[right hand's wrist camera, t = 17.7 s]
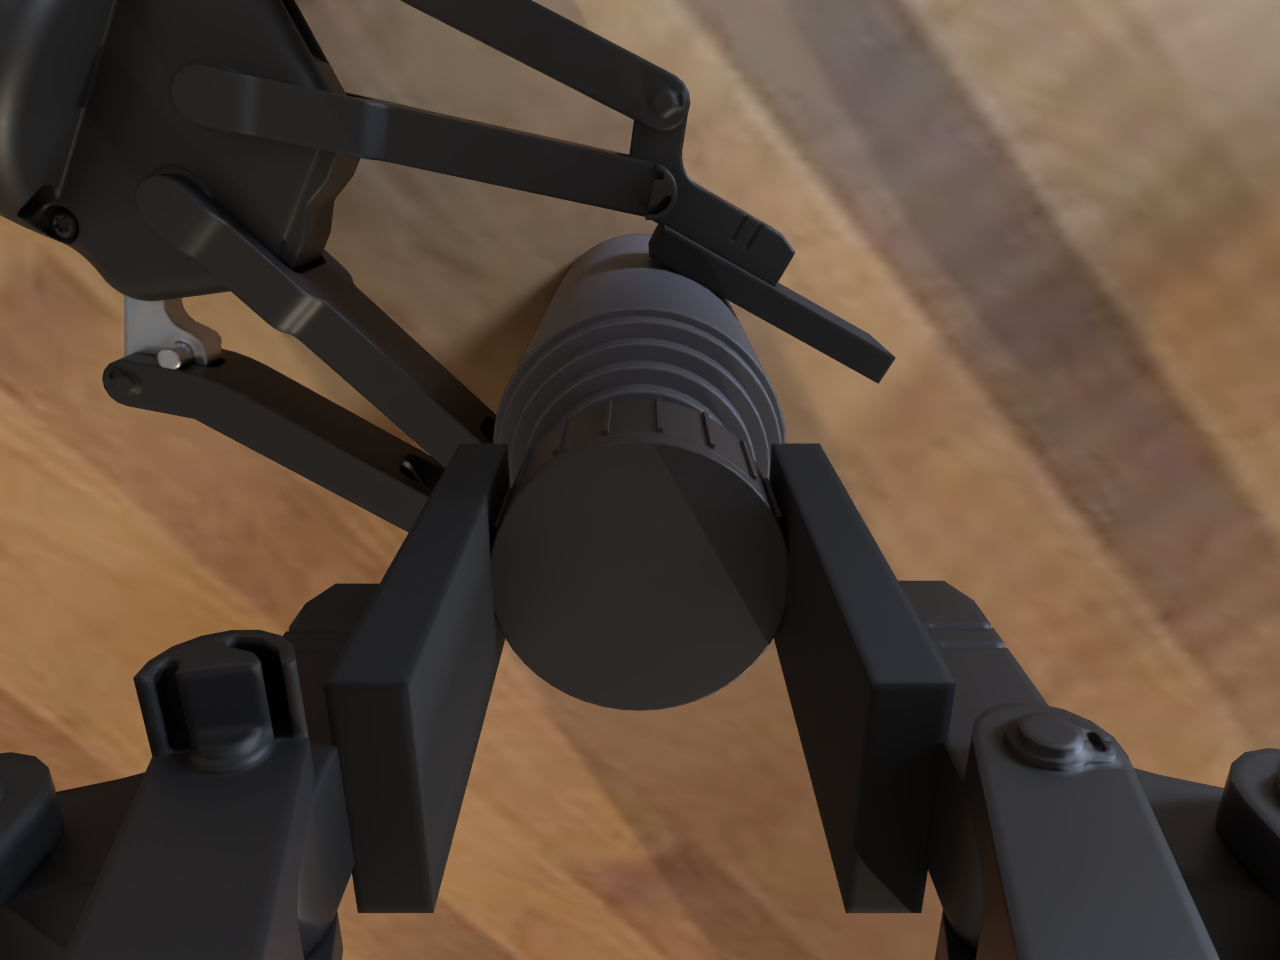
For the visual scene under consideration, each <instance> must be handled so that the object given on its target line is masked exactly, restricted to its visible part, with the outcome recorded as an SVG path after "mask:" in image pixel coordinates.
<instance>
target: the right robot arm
mask: <svg viewBox="0 0 1280 960" xmlns="http://www.w3.org/2000/svg"><path fill="white" fill-rule="evenodd" d="M769 482H770V485H771V487H772V490H773V493H774V496H775V498H776V501H777V504H778V507H779V509H780V512H781V515H782V517H783V521H780V525H781V528H782V530H783V534H784V537H785V540H786V543H787V547H788V551H789V562H788V578H787V593H786V607H785V614H784V617H783V620H782V622H781V624H780V626H779V628H778V631H777V633H776V635H775V636H774V641H775V644H776V648H777V652H778V656H779V660H780V663H781V667H782V671H783V675H784V679H785V682H786V686H787V690H788V694H789V698H790V702H791V705H792V709H793V713H794V717H795V721H796V724H797V728H798V732H799V736H800V740H801V743H802V747H803V751H804V755H805V759H806V762H807V766H808V770H809V774H810V778H811V782H812V785H813V789H814V793H815V797H816V801H817V804H818V808H819V812H820V816H821V820H822V823H823V827H824V831H825V835H826V839H827V842H828V846H829V850H830V854H831V858H832V862H833V865H834V869H835V873H836V877H837V881H838V884H839V888H840V892H841V896H842V900H843V903H844V907H845V911H846V913H921V911H922V904H923V898H924V891H925V885H926V878H927V872H928V871H929V873H930V876H931V878H932V881H933V883H934V886H935V889H936V891H937V894H938V896H939V899H940V901H941V904H942V907H943V913H942V919H941V925H940V931H939V937H938V944H937V950H936V956H935V960H1280V749H1272V748H1267V749H1261V750H1256V751H1250V752H1245V753H1243V754H1242V755H1241V756H1240V757H1239V758H1237V759H1236V760H1235V761H1234V762H1233V763H1232V764H1231V767H1230V771H1229V774H1228V777H1227V781H1226V784H1225V787H1224V788H1220V787H1216V786H1211V785H1206V784H1201V783H1196V782H1191V781H1186V780H1181V779H1177V778H1172V777H1167V776H1162V775H1157V774H1154V773H1150V772H1146V771H1142V770H1139V769H1135V768H1133V766H1132V764H1131V762H1130V760H1129V757H1128V755H1127V754H1126V753H1125V751H1124V750H1123V749H1122V747H1121V746H1120V745H1119V743H1118V742H1117V741H1116V739H1115V738H1114V737H1113V736H1111V735H1110V734H1109V733H1107V732H1106V731H1104V730H1103V729H1101V728H1100V727H1099V726H1097V725H1096V724H1094V723H1093V722H1092V721H1090V720H1087V719H1085V718H1083V717H1080V716H1078V715H1076V714H1073V713H1071V712H1069V711H1066V710H1064V709H1060V708H1055V707H1050V706H1048V704H1047V703H1046V702H1045V700H1044V699H1043V697H1042V696H1041V695H1040V693H1039V692H1038V690H1037V689H1036V687H1035V686H1034V685H1033V683H1032V682H1031V680H1030V679H1029V678H1028V676H1027V675H1026V673H1025V672H1024V671H1023V669H1022V668H1021V666H1020V665H1019V663H1018V662H1017V661H1016V659H1015V658H1014V656H1013V655H1012V654H1011V652H1010V651H1009V649H1008V648H1004V642H1003V641H1002V639H1001V638H1000V637H999V635H998V634H997V632H996V631H995V630H994V628H991V627H990V623H989V621H988V620H987V618H986V617H985V615H984V614H983V613H982V611H981V610H980V608H979V607H978V606H977V604H976V603H975V601H974V600H972V599H971V598H969V597H968V596H966V595H965V594H963V593H962V592H960V591H959V590H957V589H955V588H954V587H952V586H951V585H949V584H948V583H946V582H945V581H898V580H897V579H896V577H895V575H894V573H893V572H892V570H891V568H890V566H889V565H888V563H887V561H886V559H885V558H884V556H883V554H882V552H881V551H880V549H879V547H878V545H877V544H876V542H875V540H874V538H873V537H872V535H871V533H870V531H869V530H868V528H867V526H866V524H865V523H864V521H863V519H862V517H861V516H860V514H859V512H858V510H857V509H856V507H855V505H854V503H853V502H852V500H851V498H850V496H849V495H848V493H847V491H846V489H845V488H844V486H843V484H842V482H841V481H840V479H839V477H838V475H837V474H836V472H835V470H834V468H833V467H832V465H831V463H830V461H829V460H828V458H827V456H826V454H825V453H824V451H823V449H822V447H821V445H820V444H771V461H770V479H769ZM508 488H510V475H509V457H508V444H459V446H458V448H457V449H456V451H455V453H454V455H453V456H452V458H451V460H450V462H449V463H448V465H447V467H446V469H445V470H444V472H443V474H442V476H441V477H440V479H439V481H438V483H437V484H436V486H435V488H434V490H433V491H432V493H431V495H430V497H429V498H428V500H427V502H426V504H425V505H424V507H423V509H422V511H421V512H420V514H419V516H418V518H417V519H416V521H415V523H414V525H413V526H412V528H411V530H410V532H409V533H408V535H407V537H406V539H405V540H404V542H403V544H402V546H401V547H400V549H399V551H398V553H397V554H396V556H395V558H394V560H393V561H392V563H391V565H390V567H389V568H388V570H387V572H386V574H385V575H384V577H383V579H382V581H381V582H380V584H335V585H333V586H332V587H330V588H329V589H327V590H326V591H324V592H323V593H321V594H319V595H318V596H316V597H315V598H313V599H312V600H310V601H309V602H307V603H306V604H305V605H304V607H303V608H302V610H301V611H300V612H299V614H298V615H297V617H296V618H295V619H294V621H293V622H292V624H291V625H290V627H289V631H286V632H285V634H284V635H283V637H282V636H281V635H277V634H273V633H269V632H265V631H261V630H230V631H225V632H219V633H214V634H209V635H204V636H200V637H197V638H194V639H192V640H189V641H186V642H183V643H181V644H178V645H175V646H173V647H171V648H169V649H168V650H166V651H164V652H163V653H161V654H159V655H158V656H156V657H154V658H153V659H151V660H150V661H148V662H147V663H146V664H145V665H144V667H143V668H142V669H141V670H140V671H139V672H138V673H137V674H136V675H135V677H134V683H135V687H136V691H137V695H138V699H139V703H140V707H141V711H142V715H143V720H144V724H145V728H146V732H147V736H148V740H149V744H150V748H151V752H152V756H153V757H152V759H151V761H150V763H149V766H148V768H147V770H146V772H144V773H141V774H137V775H133V776H129V777H126V778H122V779H117V780H112V781H108V782H103V783H98V784H93V785H88V786H83V787H79V788H74V789H69V790H64V791H59V792H56V791H55V788H54V784H53V781H52V777H51V774H50V771H49V768H48V767H47V766H46V765H45V764H44V763H43V762H41V761H40V760H39V759H38V758H37V757H35V756H30V755H24V754H18V753H12V752H10V753H0V960H342V954H343V946H342V939H341V932H340V925H339V919H338V913H337V909H338V907H339V904H340V901H341V899H342V896H343V894H344V891H345V888H346V886H347V883H348V881H349V878H350V876H351V873H352V877H353V883H354V890H355V897H356V903H357V910H358V913H433V912H434V908H435V904H436V900H437V897H438V893H439V889H440V885H441V881H442V878H443V874H444V870H445V866H446V862H447V858H448V855H449V851H450V847H451V843H452V839H453V836H454V832H455V828H456V824H457V820H458V817H459V813H460V809H461V805H462V801H463V798H464V794H465V790H466V786H467V782H468V779H469V775H470V771H471V767H472V763H473V760H474V756H475V752H476V748H477V744H478V740H479V737H480V733H481V729H482V725H483V721H484V718H485V714H486V710H487V706H488V702H489V699H490V695H491V691H492V687H493V683H494V680H495V676H496V672H497V668H498V664H499V661H500V657H501V653H502V649H503V645H504V641H505V636H504V635H503V633H502V631H501V629H500V626H499V624H498V622H497V620H496V617H495V614H494V604H493V590H492V575H491V559H490V551H491V546H492V543H493V540H494V537H495V533H496V532H494V525H495V522H496V519H497V517H498V514H499V511H500V508H501V506H502V503H503V500H504V497H505V495H506V492H507V489H508Z"/></svg>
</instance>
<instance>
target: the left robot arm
mask: <svg viewBox="0 0 1280 960" xmlns="http://www.w3.org/2000/svg"><path fill="white" fill-rule="evenodd" d="M401 1H403V2H404V3H406V4H408V5H410V6H412V7H414V8H416V9H418V10H420V11H422V12H424V13H426V14H428V15H430V16H431V17H433V18H435V19H437V20H439V21H441V22H443V23H445V24H447V25H449V26H451V27H453V28H455V29H457V30H459V31H461V32H463V33H465V34H467V35H469V36H471V37H473V38H475V39H477V40H479V41H481V42H482V43H484V44H486V45H488V46H490V47H492V48H494V49H496V50H498V51H500V52H502V53H504V54H506V55H508V56H510V57H512V58H514V59H516V60H518V61H520V62H522V63H524V64H526V65H528V66H530V67H531V68H533V69H535V70H537V71H539V72H541V73H543V74H545V75H547V76H549V77H551V78H553V79H555V80H557V81H559V82H561V83H563V84H565V85H567V86H569V87H571V88H573V89H575V90H577V91H579V92H581V93H582V94H584V95H586V96H588V97H590V98H592V99H594V100H596V101H598V102H600V103H602V104H604V105H606V106H608V107H610V108H612V109H614V110H616V111H618V112H620V113H622V114H624V115H626V116H628V117H630V118H631V119H633V120H634V125H633V132H632V140H631V147H630V154H629V155H628V154H624V153H619V152H614V151H610V150H605V149H601V148H596V147H591V146H587V145H582V144H578V143H573V142H569V141H564V140H559V139H555V138H550V137H546V136H541V135H536V134H532V133H527V132H523V131H518V130H514V129H509V128H504V127H500V126H495V125H491V124H486V123H481V122H477V121H472V120H468V119H463V118H458V117H454V116H449V115H445V114H440V113H436V112H431V111H426V110H422V109H417V108H413V107H409V106H405V105H401V104H397V103H392V102H388V101H383V100H378V99H374V98H369V97H365V96H360V95H356V94H351V93H346V92H345V91H344V89H343V87H342V86H341V84H340V82H339V80H338V78H337V77H336V75H335V73H334V71H333V69H332V67H331V66H330V64H329V62H328V60H327V58H326V57H325V55H324V53H323V51H322V49H321V48H320V46H319V44H318V42H317V40H316V38H315V37H314V35H313V33H312V31H311V29H310V28H309V26H308V24H307V22H306V20H305V18H304V17H303V15H302V13H301V11H300V9H299V8H298V6H297V4H296V2H295V0H0V215H1V216H3V217H5V218H7V219H9V220H11V221H13V222H15V223H17V224H19V225H21V226H23V227H26V228H28V229H30V230H32V231H35V232H37V233H40V234H42V235H44V236H47V237H49V238H52V239H54V240H57V241H59V242H62V243H64V244H66V245H68V246H70V247H71V248H73V249H75V250H76V251H77V252H79V253H80V254H81V255H82V256H84V257H85V258H86V259H87V260H88V261H89V262H90V263H91V264H92V265H93V266H94V267H95V268H96V270H97V271H98V272H99V273H100V274H101V276H102V277H103V278H104V279H105V281H106V282H107V283H108V284H110V285H111V286H112V287H113V288H114V289H116V290H117V291H119V292H120V293H122V294H124V341H125V354H124V357H123V358H121V359H119V360H117V361H114V362H112V363H110V364H109V365H108V366H107V367H106V368H105V370H104V373H103V378H102V379H103V384H104V388H105V390H106V391H107V393H108V394H109V396H110V397H112V398H113V399H114V400H115V401H116V402H118V403H121V404H123V405H126V406H130V407H135V408H141V409H146V410H151V411H156V412H162V413H167V414H172V415H177V416H183V417H188V418H193V419H196V420H198V421H199V422H201V423H203V424H205V425H207V426H209V427H211V428H213V429H215V430H216V431H218V432H220V433H222V434H224V435H226V436H228V437H230V438H231V439H233V440H235V441H237V442H239V443H241V444H243V445H245V446H247V447H248V448H250V449H252V450H254V451H256V452H258V453H260V454H262V455H264V456H265V457H267V458H269V459H271V460H273V461H275V462H277V463H279V464H281V465H282V466H284V467H286V468H288V469H290V470H292V471H294V472H296V473H297V474H299V475H301V476H303V477H305V478H307V479H309V480H311V481H313V482H314V483H316V484H318V485H320V486H322V487H324V488H326V489H328V490H330V491H331V492H333V493H335V494H337V495H339V496H341V497H343V498H345V499H347V500H348V501H350V502H352V503H354V504H356V505H358V506H360V507H362V508H363V509H365V510H367V511H369V512H371V513H373V514H375V515H377V516H379V517H380V518H382V519H384V520H386V521H388V522H390V523H392V524H394V525H396V526H397V527H399V528H401V529H403V530H405V531H407V532H410V530H411V528H412V526H413V525H414V523H415V521H416V519H417V518H418V516H419V514H420V512H421V511H422V509H423V507H424V505H425V504H426V502H427V500H428V498H429V497H430V495H431V493H432V491H433V490H434V488H435V486H436V484H437V483H438V481H439V479H440V477H441V476H442V474H443V472H444V470H445V469H446V467H447V465H448V463H449V462H450V460H451V458H452V456H453V455H454V453H455V451H456V449H457V448H458V446H459V444H493V437H494V426H495V421H496V416H497V415H496V414H495V413H493V412H492V411H491V410H490V409H489V408H488V407H487V406H486V405H485V404H484V403H483V402H481V401H480V400H479V399H478V398H477V397H476V396H475V395H474V394H473V393H472V392H471V391H469V390H468V389H467V388H466V387H465V386H464V385H463V384H462V383H461V382H460V381H459V380H457V379H456V378H455V377H454V376H453V375H452V374H451V373H450V372H449V371H448V370H447V369H445V368H444V367H443V366H442V365H441V364H440V363H439V362H438V361H437V360H436V359H435V358H433V357H432V356H431V355H430V354H429V353H428V352H427V351H426V350H425V349H424V348H423V347H421V346H420V345H419V344H418V343H417V342H416V341H415V340H414V339H413V338H412V337H410V336H409V335H408V334H407V333H406V332H405V331H404V330H403V329H402V328H401V327H400V326H398V325H397V324H396V323H395V322H394V321H393V320H392V319H391V318H390V317H389V316H388V315H386V314H385V313H384V312H383V311H382V310H381V309H380V308H379V307H378V306H377V305H376V304H374V303H373V302H372V301H371V300H370V299H369V298H368V297H367V296H366V295H365V294H364V293H362V292H361V291H360V290H359V289H358V288H357V287H356V286H355V284H354V283H353V280H352V277H351V275H350V274H349V273H348V271H347V270H346V269H345V268H344V267H343V266H342V265H341V264H340V263H339V262H337V261H336V260H335V259H334V258H333V257H332V256H331V255H330V254H329V253H328V252H327V251H325V250H324V247H325V245H326V242H327V240H328V237H329V235H330V232H331V224H332V215H333V206H334V200H335V199H336V197H337V196H338V195H339V193H340V192H341V191H342V190H343V188H344V187H345V186H346V184H347V183H348V182H349V181H350V179H351V178H352V177H353V175H354V173H355V170H356V168H357V165H358V163H359V160H360V158H365V159H372V160H380V161H386V162H391V163H395V164H400V165H405V166H409V167H414V168H419V169H423V170H428V171H433V172H438V173H442V174H447V175H452V176H456V177H461V178H466V179H470V180H475V181H480V182H484V183H489V184H494V185H499V186H503V187H508V188H513V189H517V190H522V191H527V192H531V193H536V194H541V195H545V196H550V197H555V198H560V199H564V200H569V201H574V202H578V203H583V204H588V205H592V206H597V207H602V208H606V209H611V210H616V211H621V212H625V213H630V214H635V215H639V216H644V217H645V219H646V220H653V221H655V222H657V223H658V225H657V227H656V229H655V231H654V233H653V235H652V237H651V238H650V240H649V242H648V247H649V256H650V257H651V258H653V259H655V260H657V261H659V262H660V263H662V264H664V265H666V266H668V267H669V268H671V269H673V270H675V271H677V272H678V273H680V274H682V275H684V276H686V277H687V278H689V279H691V280H693V281H695V282H697V283H698V284H700V285H702V286H704V287H705V288H707V289H709V290H711V291H713V292H714V293H716V294H718V295H720V296H722V297H723V298H725V299H727V300H729V301H731V302H732V303H734V304H736V305H738V306H740V307H741V308H743V309H745V310H747V311H749V312H750V313H752V314H754V315H756V316H758V317H759V318H761V319H763V320H765V321H767V322H768V323H770V324H772V325H774V326H776V327H777V328H779V329H781V330H783V331H785V332H786V333H788V334H790V335H792V336H794V337H795V338H797V339H799V340H801V341H803V342H804V343H806V344H808V345H810V346H812V347H813V348H815V349H817V350H819V351H821V352H822V353H824V354H826V355H828V356H830V357H831V358H833V359H835V360H837V361H838V362H840V363H842V364H844V365H846V366H847V367H849V368H851V369H853V370H855V371H856V372H858V373H860V374H862V375H864V376H865V377H867V378H869V379H871V380H873V381H874V382H876V383H878V384H879V382H880V381H881V379H882V378H883V376H884V375H885V373H886V372H887V370H888V369H889V367H890V366H891V364H892V363H893V361H894V359H895V357H894V356H893V355H892V354H891V353H890V352H889V351H888V350H886V349H885V348H884V347H883V346H882V345H881V344H880V343H879V342H877V341H876V340H875V339H874V338H873V337H872V336H871V335H870V334H868V333H866V332H864V331H863V330H861V329H859V328H857V327H856V326H854V325H852V324H850V323H848V322H847V321H845V320H843V319H841V318H840V317H838V316H836V315H834V314H833V313H831V312H829V311H827V310H826V309H824V308H822V307H820V306H818V305H817V304H815V303H813V302H811V301H810V300H808V299H806V298H804V297H803V296H801V295H799V294H797V293H796V292H794V291H792V290H790V289H788V288H787V287H785V286H783V285H781V284H780V283H778V281H779V279H780V278H781V276H782V274H783V273H784V271H785V269H786V267H787V266H788V264H789V262H790V261H791V259H792V257H793V256H794V254H795V251H794V249H793V248H792V247H791V245H790V244H789V243H788V241H787V240H786V239H785V237H784V236H783V235H782V234H781V233H779V232H778V231H777V230H775V229H774V228H772V227H771V226H769V225H767V224H765V223H764V222H762V221H760V220H758V219H757V218H755V217H753V216H751V215H750V214H748V213H746V212H745V211H743V210H741V209H739V208H738V207H736V206H734V205H732V204H731V203H729V202H727V201H726V200H724V199H722V198H720V197H719V196H717V195H715V194H713V193H712V192H710V191H708V190H706V189H705V188H703V187H701V186H700V185H698V184H696V183H695V182H693V181H692V180H691V179H690V178H689V177H688V175H687V174H686V171H685V169H684V167H683V162H682V147H683V141H684V135H685V128H686V122H687V115H688V111H689V107H690V97H689V91H688V90H687V88H686V86H685V84H684V82H683V81H681V80H680V79H679V78H678V77H676V76H675V75H673V74H671V73H669V72H668V71H666V70H664V69H662V68H660V67H658V66H656V65H654V64H652V63H650V62H648V61H647V60H645V59H643V58H641V57H639V56H637V55H635V54H633V53H631V52H629V51H627V50H625V49H624V48H622V47H620V46H618V45H616V44H614V43H612V42H610V41H608V40H606V39H604V38H603V37H601V36H599V35H597V34H595V33H593V32H591V31H589V30H587V29H585V28H583V27H581V26H580V25H578V24H576V23H574V22H572V21H570V20H568V19H566V18H564V17H562V16H560V15H558V14H557V13H555V12H553V11H551V10H549V9H547V8H545V7H543V6H541V5H539V4H537V3H536V2H534V1H532V0H401ZM229 291H231V292H232V293H234V294H235V295H236V296H237V297H238V298H239V299H240V300H242V301H243V302H244V303H245V304H246V305H247V306H249V307H250V308H251V309H252V310H253V311H254V312H255V313H257V314H258V315H259V316H260V317H261V318H262V319H263V320H265V321H266V322H267V323H268V324H269V325H271V326H272V327H273V328H275V329H277V330H279V331H281V332H284V333H287V334H291V335H293V336H295V337H296V338H297V339H299V340H300V341H301V342H302V343H303V344H305V345H306V346H307V347H308V348H309V349H310V350H311V351H313V352H314V353H315V354H316V355H317V356H318V357H319V358H320V359H322V360H323V361H324V362H325V363H326V364H327V365H328V366H330V367H331V368H332V369H333V370H334V371H335V372H336V373H338V374H339V375H340V376H341V377H342V378H343V379H344V380H346V381H347V382H348V383H349V384H350V385H351V386H352V387H354V388H355V389H356V390H357V391H358V392H359V393H360V394H361V395H363V396H364V397H365V398H366V399H367V400H368V401H369V402H371V403H372V404H373V405H374V406H375V407H376V408H377V409H379V410H380V411H381V412H382V413H383V414H384V415H385V416H387V417H388V418H389V419H390V420H391V421H392V422H393V423H395V424H396V425H397V426H398V427H399V428H400V429H401V430H402V431H404V432H405V433H406V434H407V435H408V436H409V437H410V438H412V439H413V440H414V441H415V442H416V443H417V444H418V445H420V446H421V447H422V448H423V449H424V450H425V451H426V452H428V453H429V454H430V455H431V456H430V455H428V454H426V453H424V452H423V451H421V450H419V449H417V448H415V447H413V446H412V445H410V444H408V443H406V442H404V441H403V440H401V439H399V438H397V437H395V436H394V435H392V434H390V433H388V432H386V431H384V430H383V429H381V428H379V427H377V426H375V425H374V424H372V423H370V422H368V421H366V420H365V419H363V418H361V417H359V416H357V415H355V414H354V413H352V412H350V411H348V410H346V409H345V408H343V407H341V406H339V405H337V404H336V403H334V402H332V401H330V400H328V399H326V398H325V397H323V396H321V395H319V394H317V393H316V392H314V391H312V390H310V389H308V388H306V387H305V386H303V385H301V384H299V383H297V382H296V381H294V380H292V379H290V378H288V377H287V376H285V375H283V374H281V373H279V372H277V371H276V370H274V369H272V368H270V367H268V366H266V365H264V364H262V363H260V362H258V361H256V360H254V359H252V358H250V357H247V356H244V355H241V354H239V353H236V352H232V351H228V350H225V349H221V343H222V341H221V337H220V335H219V334H218V333H217V332H216V331H214V330H212V329H210V328H209V327H207V326H205V325H203V324H201V323H198V322H196V321H195V320H194V319H192V318H191V317H190V316H189V315H188V313H187V312H186V311H185V309H184V306H183V304H182V298H184V297H192V296H199V295H206V294H214V293H221V292H229Z"/></svg>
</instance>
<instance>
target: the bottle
mask: <svg viewBox="0 0 1280 960" xmlns="http://www.w3.org/2000/svg"><path fill="white" fill-rule="evenodd" d="M651 237H652V235H648V234H632V235H624V236H620V237H616V238H612V239H610V240H607V241H605V242H602V243H600V244H598V245H597V246H595V247H593V248H591V249H590V250H589V251H587V252H586V253H585V254H583V255H582V256H581V257H580V258H579V259H578V260H577V261H576V262H575V263H574V264H573V265H572V266H571V268H570V269H569V270H568V272H567V273H566V274H565V276H564V278H563V280H562V282H561V283H560V285H559V287H558V289H557V291H556V293H555V295H554V297H553V299H552V301H551V302H550V304H549V306H548V308H547V310H546V312H545V314H544V316H543V318H542V320H541V322H540V324H539V326H538V327H537V329H536V331H535V333H534V335H533V337H532V339H531V341H530V343H529V345H528V347H527V349H526V351H525V353H524V354H523V356H522V358H521V360H520V362H519V364H518V366H517V368H516V370H515V372H514V374H513V376H512V378H511V379H510V381H509V383H508V385H507V387H506V389H505V392H504V394H503V397H502V399H501V402H500V405H499V408H498V412H497V416H496V421H495V426H494V437H493V444H508V457H509V475H510V488H512V486H513V483H514V480H515V478H516V476H517V474H518V471H519V469H520V467H521V465H522V462H523V459H524V456H525V453H526V451H527V449H528V448H531V449H533V448H534V447H535V446H536V444H537V443H538V442H539V441H540V440H541V439H542V438H543V437H544V436H545V435H546V434H547V433H549V432H550V431H551V430H552V429H553V428H554V427H556V426H557V425H559V423H560V420H561V419H562V418H563V417H566V419H568V418H569V417H571V416H573V415H575V414H577V413H580V412H582V411H584V410H586V409H589V408H592V407H595V406H598V405H601V404H604V403H606V400H608V399H611V400H612V402H615V401H620V400H633V399H646V400H656V397H659V398H661V401H664V402H670V403H675V404H678V405H681V406H684V407H687V408H690V409H693V410H695V411H697V412H700V413H703V411H705V412H707V413H708V414H709V417H710V418H711V419H713V420H714V421H716V422H717V423H719V424H720V425H722V426H723V427H725V428H726V429H727V430H728V431H729V432H731V433H732V434H733V435H734V436H735V437H736V438H737V439H738V440H739V441H741V440H742V439H743V440H744V441H745V442H746V445H747V448H748V451H749V453H750V454H751V456H752V457H753V459H754V460H755V462H756V463H757V465H758V467H759V469H760V471H761V473H762V475H763V478H764V479H765V478H768V479H770V461H771V444H786V433H785V425H784V420H783V415H782V410H781V407H780V404H779V401H778V399H777V396H776V393H775V391H774V389H773V387H772V385H771V383H770V381H769V379H768V377H767V375H766V373H765V372H764V370H763V368H762V366H761V364H760V362H759V360H758V358H757V356H756V354H755V352H754V350H753V348H752V346H751V344H750V342H749V340H748V339H747V337H746V335H745V333H744V331H743V329H742V327H741V325H740V323H739V321H738V319H737V317H736V315H735V313H734V311H733V309H732V307H731V306H730V304H729V302H728V300H727V299H725V298H723V297H722V296H720V295H718V294H716V293H714V292H713V291H711V290H709V289H707V288H705V287H704V286H702V285H700V284H698V283H697V282H695V281H693V280H691V279H689V278H687V277H686V276H684V275H682V274H680V273H678V272H677V271H675V270H673V269H671V268H669V267H668V266H666V265H664V264H662V263H660V262H659V261H657V260H655V259H653V258H651V257H650V256H649V247H648V242H649V240H650V238H651Z"/></svg>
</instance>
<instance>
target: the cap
mask: <svg viewBox="0 0 1280 960" xmlns="http://www.w3.org/2000/svg"><path fill="white" fill-rule="evenodd" d="M780 521H783V517H782V515H781V512H780V509H779V507H778V504H777V501H776V498H775V496H774V493H773V490H772V487H771V485H770V482H769V479H768V478H765V479H764V478H763V475H762V473H761V471H760V469H759V467H758V465H757V463H756V462H755V460H754V459H753V457H752V456H751V454H750V453H749V451H748V448H747V445H746V442H745V441H744V440H743V439H742V440H741V441H739V440H738V439H737V438H736V437H735V436H734V435H733V434H732V433H731V432H729V431H728V430H727V429H726V428H725V427H723V426H722V425H720V424H719V423H717V422H716V421H714V420H713V419H711V418H710V417H709V414H708V413H707V412H705V411H703V413H700V412H697V411H695V410H693V409H690V408H687V407H684V406H681V405H678V404H675V403H670V402H664V401H661V398H659V397H656V400H646V399H633V400H620V401H615V402H612V400H611V399H608V400H606V403H604V404H601V405H598V406H595V407H592V408H589V409H586V410H584V411H582V412H580V413H577V414H575V415H573V416H571V417H569V418H568V419H566V417H563V418H562V419H561V420H560V423H559V425H557V426H556V427H554V428H553V429H552V430H551V431H550V432H549V433H547V434H546V435H545V436H544V437H543V438H542V439H541V440H540V441H539V442H538V443H537V444H536V446H535V447H534V448H533V449H531V448H528V449H527V451H526V453H525V456H524V459H523V462H522V465H521V467H520V469H519V471H518V474H517V476H516V478H515V480H514V483H513V486H512V488H508V489H507V492H506V495H505V497H504V500H503V503H502V506H501V508H500V511H499V514H498V517H497V519H496V522H495V525H494V532H496V533H495V537H494V540H493V543H492V546H491V551H490V559H491V575H492V590H493V604H494V614H495V617H496V620H497V622H498V624H499V626H500V629H501V631H502V633H503V635H504V636H505V638H506V640H507V641H508V643H509V644H510V646H511V647H512V649H513V650H514V651H515V653H516V654H517V655H518V656H519V657H520V659H521V660H522V661H523V662H524V663H525V664H526V665H527V666H528V667H529V668H530V669H531V670H532V671H533V672H534V673H535V674H536V675H538V676H539V677H540V678H542V679H543V680H545V681H546V682H547V683H549V684H550V685H552V686H553V687H555V688H557V689H559V690H561V691H562V692H564V693H566V694H568V695H570V696H573V697H575V698H577V699H580V700H582V701H585V702H588V703H592V704H595V705H599V706H602V707H608V708H614V709H620V710H637V711H642V710H659V709H665V708H671V707H677V706H680V705H684V704H687V703H691V702H694V701H697V700H699V699H702V698H704V697H706V696H709V695H711V694H713V693H715V692H717V691H719V690H720V689H722V688H724V687H726V686H727V685H729V684H730V683H732V682H733V681H734V680H736V679H737V678H739V677H740V676H741V675H742V674H744V673H745V672H746V671H747V670H748V669H749V668H750V667H751V666H752V665H753V664H754V663H755V662H756V661H757V660H758V659H759V657H760V656H761V655H762V654H763V653H764V652H765V650H766V649H767V647H768V646H769V644H770V643H771V641H772V639H773V638H774V636H775V635H776V633H777V631H778V628H779V626H780V624H781V622H782V620H783V617H784V614H785V607H786V593H787V578H788V562H789V551H788V547H787V543H786V540H785V537H784V534H783V530H782V528H781V525H780Z"/></svg>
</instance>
